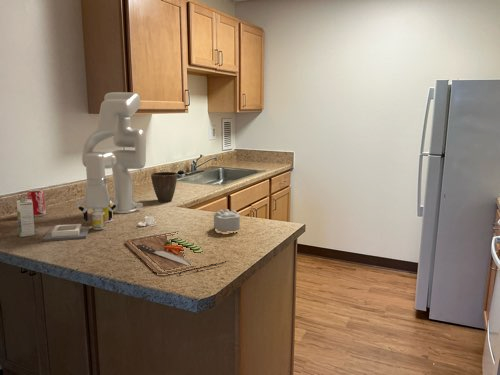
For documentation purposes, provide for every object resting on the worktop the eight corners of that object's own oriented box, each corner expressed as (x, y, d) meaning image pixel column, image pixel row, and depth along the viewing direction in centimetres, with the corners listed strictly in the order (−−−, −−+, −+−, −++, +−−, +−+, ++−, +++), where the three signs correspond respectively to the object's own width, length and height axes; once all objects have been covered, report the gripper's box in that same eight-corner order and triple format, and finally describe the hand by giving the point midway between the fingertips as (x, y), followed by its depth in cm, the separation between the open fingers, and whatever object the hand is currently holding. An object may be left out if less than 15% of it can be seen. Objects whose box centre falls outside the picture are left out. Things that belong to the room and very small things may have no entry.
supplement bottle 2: (116, 220, 191) (114, 193, 188) (107, 223, 185) (105, 196, 182) (104, 218, 193) (102, 192, 191) (95, 222, 187) (93, 195, 184)
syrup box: (19, 233, 169) (15, 200, 166) (35, 231, 172) (31, 198, 169) (19, 237, 164) (15, 202, 162) (35, 235, 167) (32, 201, 164)
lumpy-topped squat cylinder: (219, 235, 169) (219, 215, 168) (210, 227, 181) (210, 208, 180) (242, 232, 174) (242, 213, 172) (231, 224, 185) (231, 206, 184)
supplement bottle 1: (96, 230, 174) (95, 209, 172) (90, 228, 178) (89, 207, 176) (108, 228, 178) (106, 207, 176) (101, 225, 182) (100, 205, 180)
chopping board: (236, 264, 139) (236, 256, 138) (162, 281, 124) (162, 272, 124) (183, 231, 176) (183, 224, 175) (121, 241, 161) (121, 234, 161)
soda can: (39, 217, 194) (36, 191, 191) (26, 216, 195) (23, 190, 193) (49, 214, 201) (46, 188, 198) (36, 213, 202) (34, 188, 200)
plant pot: (146, 201, 231) (145, 173, 228) (167, 197, 242) (166, 171, 239) (162, 205, 222) (161, 176, 219) (183, 200, 233) (182, 173, 230)
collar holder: (89, 228, 177) (89, 222, 176) (86, 238, 164) (85, 231, 163) (49, 231, 173) (49, 224, 172) (42, 241, 159) (42, 234, 159)
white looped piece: (137, 228, 179) (137, 219, 178) (138, 223, 187) (137, 215, 186) (157, 227, 181) (157, 218, 180) (157, 222, 189) (157, 214, 188)
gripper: (117, 180, 180) (119, 217, 183) (75, 181, 175) (78, 219, 178) (116, 182, 173) (118, 221, 176) (73, 184, 168) (76, 223, 171)
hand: (98, 220), depth 177 cm, fingers open, 9 cm apart
